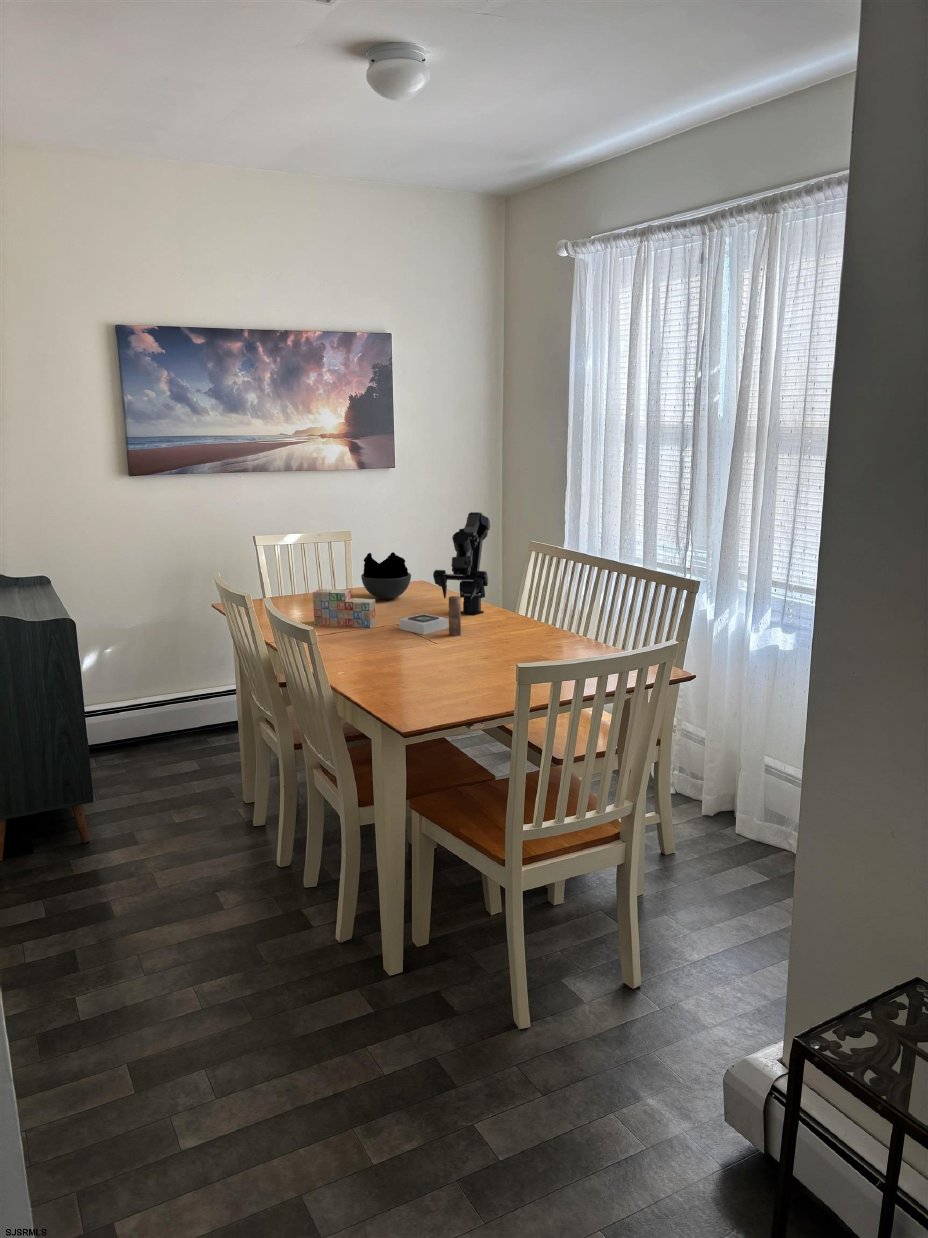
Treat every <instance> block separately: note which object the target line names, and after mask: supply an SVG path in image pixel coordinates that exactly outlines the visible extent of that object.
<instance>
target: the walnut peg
mask: <svg viewBox="0 0 928 1238" xmlns="http://www.w3.org/2000/svg"><path fill="white" fill-rule="evenodd" d="M461 599H462V598H461V597H460V595H456V596H455V595H452V596H448V635H449V636H450V637H459V636H461V634H462V633H461V630H462V629H461V625H462V623H461V622H462V621H461V619H462V617H461V616H462V613H461V609H462V608H461V607H462V606H461V604H462V603H461V602H462V601H461Z"/></svg>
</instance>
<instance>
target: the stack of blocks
mask: <svg viewBox="0 0 928 1238" xmlns="http://www.w3.org/2000/svg"><path fill="white" fill-rule="evenodd" d="M312 605H313V606H312V607H313V621H314V622H313V623H314V625H315V624H319V625H318V626H325V625H328V627H329V626H330V627H343V626H344V627H348V628H363V629H365V628H367V629H371V628H372V627H374V626H375V625H376V624H377V621H376V599H375V598H357V597H355V598H354V597H353V598H352V589H339V588H338V589H335V588H333V589H332V588H318V589H317V590H313V592H312Z"/></svg>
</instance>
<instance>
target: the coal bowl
mask: <svg viewBox="0 0 928 1238" xmlns="http://www.w3.org/2000/svg"><path fill="white" fill-rule="evenodd" d="M385 558H386V559H383V560H382V561H381V562H378V561H376V560H375V559H374V558H373V554H372V553H371V552H369V553H367V555H366V556H365V557H364V559H363V562H364V563H363V573H361V575H360V577H361V581H362V584H363V587H364V588H365V590H366V591H367V592H368V593H369V594H370V595H371V596H373V597H375V598H376V599H379V600H392V599H395V598H398V597H399V596H402V595H403V594H404V592H405V591H406V590H407V589H408V587H409V585H410V582H411V579H412V574H411V573H410V572H409V569H408V567H407V566H406V560H405V558H404V557H400V556H399V555H397V554H396V553H395V552H390V554H389V555H388V556H387V557H385Z"/></svg>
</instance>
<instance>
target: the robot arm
mask: <svg viewBox="0 0 928 1238" xmlns="http://www.w3.org/2000/svg"><path fill="white" fill-rule="evenodd" d="M490 529H491V521H490V519H489V517H488V516H486V515H484V514H483V513H482V512H479V511H478V512H475V511H474V512H473V511H470V512H468V515H467V517H466V522H465V525H464V527H463V528H459V530H458V531H456V532H454V534H453V535H452V542H453V548H454V551H455V552H456V555H455V556H452V557H451V565H450V566H451V571H452V573H447V572H446V570H445V569H435V570H434V571H433V574H432V576H433V580H434V584H435V585H437V586H438V587H440V588H441V589H442V594H443V595H442V596H443V598H444V599H446V598H447V590H448V589H447V588H448V583H447V582H448V581H459V597H461V599H462V598H463V603H462V609H463V610H462V611H461V614H465V615H470V616H476V615H478V614H482V613H484V612H485V611H484V610H482V608H481V607H482V599H483V598H486V589H485V587H488V585H489V577H488V573H487V571H486V570H480V566H481V560H482V559H481V557H482V549H483V543H484V540H485V539H486V538H487V537H488V534H489V531H490Z"/></svg>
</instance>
